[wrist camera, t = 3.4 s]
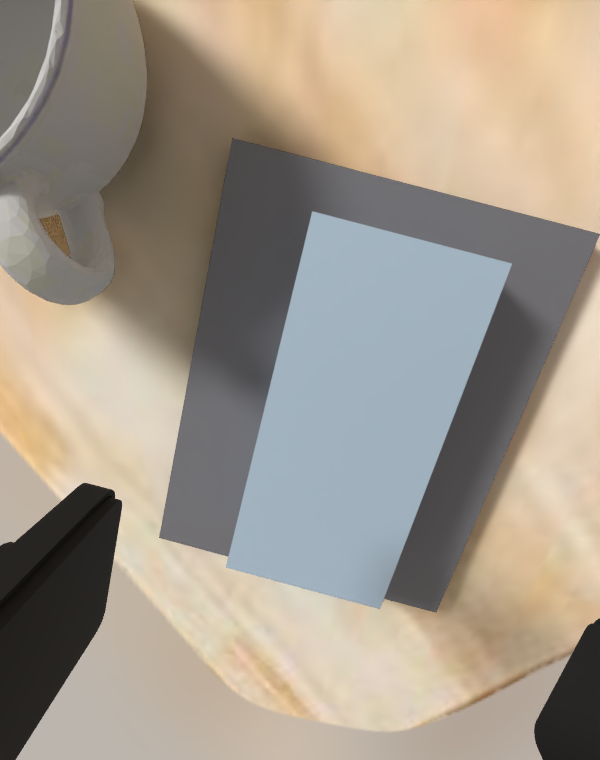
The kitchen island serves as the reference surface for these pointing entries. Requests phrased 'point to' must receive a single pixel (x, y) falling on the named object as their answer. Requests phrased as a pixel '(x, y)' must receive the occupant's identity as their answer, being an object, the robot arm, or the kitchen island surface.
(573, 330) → the kitchen island surface
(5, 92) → the teacup
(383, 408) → the light blue block
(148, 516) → the kitchen island surface
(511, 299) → the mat
